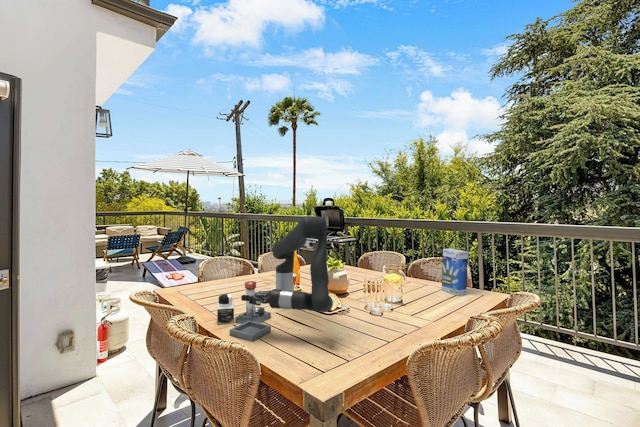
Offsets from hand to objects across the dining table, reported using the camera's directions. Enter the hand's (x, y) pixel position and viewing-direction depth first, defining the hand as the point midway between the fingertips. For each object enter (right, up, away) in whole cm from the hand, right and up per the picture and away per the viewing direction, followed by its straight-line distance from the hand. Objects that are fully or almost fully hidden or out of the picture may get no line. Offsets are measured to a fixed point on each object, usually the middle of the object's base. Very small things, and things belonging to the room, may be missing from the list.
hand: (244, 296), depth 145 cm
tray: (+3, -16, 0) cm, 16 cm away
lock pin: (+3, -8, 0) cm, 8 cm away
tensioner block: (+1, -15, +16) cm, 22 cm away
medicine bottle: (-12, -15, +15) cm, 24 cm away
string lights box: (+112, -13, +65) cm, 130 cm away
